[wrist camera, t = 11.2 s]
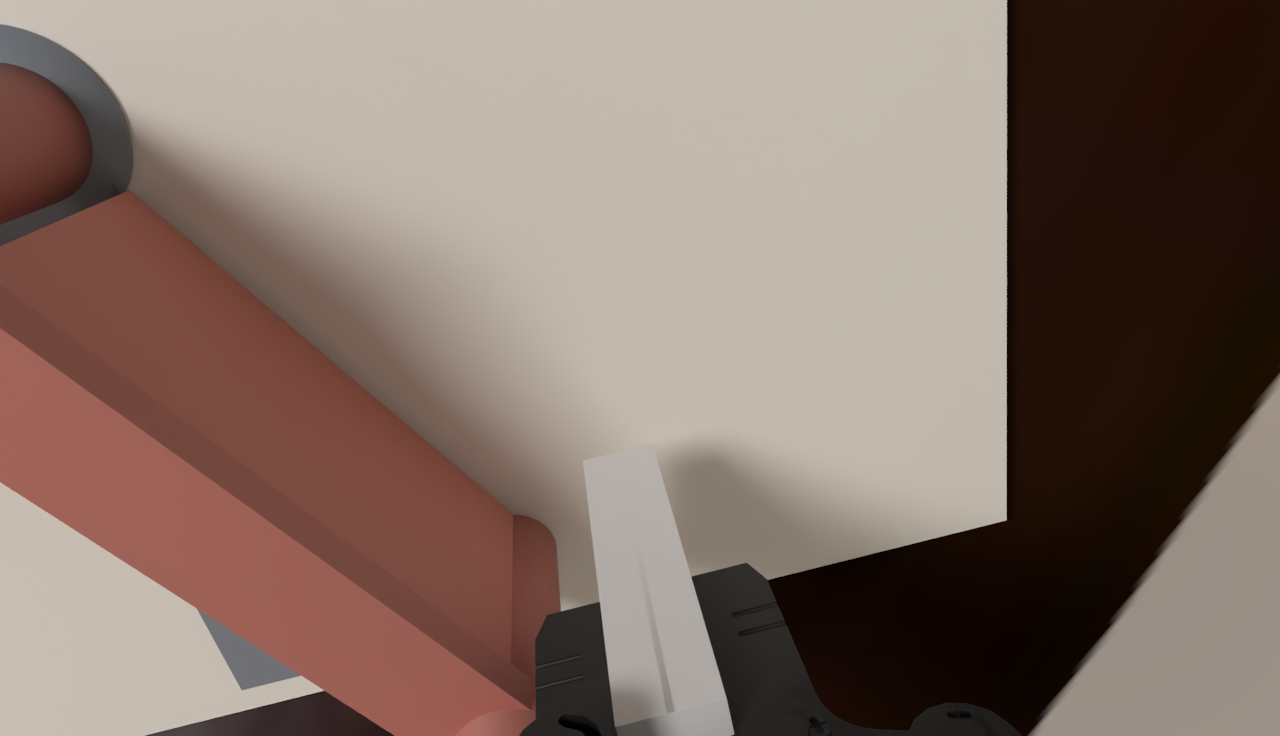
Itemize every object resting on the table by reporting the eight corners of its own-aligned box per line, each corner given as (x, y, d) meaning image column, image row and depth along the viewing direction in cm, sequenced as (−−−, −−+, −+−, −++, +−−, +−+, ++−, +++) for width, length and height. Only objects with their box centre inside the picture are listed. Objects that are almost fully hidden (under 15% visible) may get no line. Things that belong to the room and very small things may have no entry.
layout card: (-1004, 97, 12) (-1074, 101, 12) (990, -303, 14) (1010, -316, 13) (-267, 823, 19) (-290, 846, 19) (996, 509, 21) (1008, 522, 20)
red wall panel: (68, 253, 14) (-237, 410, 9) (140, 178, 14) (-126, 289, 8) (511, 601, 19) (507, 861, 13) (574, 550, 18) (599, 794, 13)
